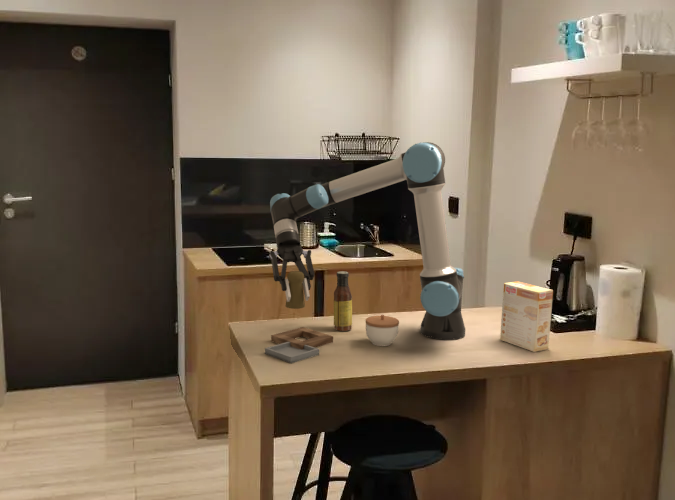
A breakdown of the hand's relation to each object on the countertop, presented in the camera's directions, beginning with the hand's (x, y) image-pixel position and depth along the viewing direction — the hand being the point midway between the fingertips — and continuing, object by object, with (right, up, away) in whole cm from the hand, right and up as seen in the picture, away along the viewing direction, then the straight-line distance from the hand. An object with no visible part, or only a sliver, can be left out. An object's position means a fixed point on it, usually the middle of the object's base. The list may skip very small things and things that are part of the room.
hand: (298, 298), depth 215 cm
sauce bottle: (+14, -12, +26) cm, 32 cm away
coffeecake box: (+73, -16, +15) cm, 76 cm away
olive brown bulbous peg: (-1, -3, +4) cm, 5 cm away
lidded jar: (+26, -15, +12) cm, 33 cm away
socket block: (+1, -15, +11) cm, 18 cm away
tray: (-2, -17, -1) cm, 17 cm away
